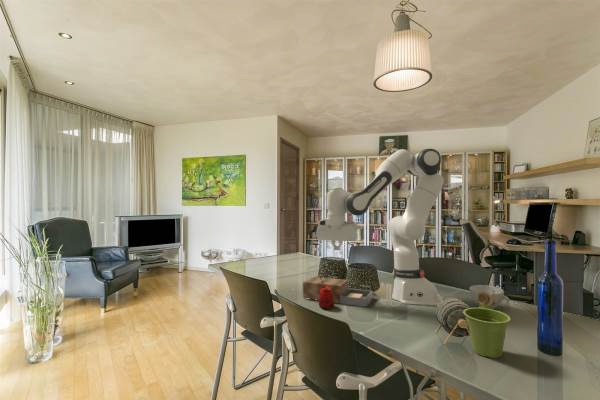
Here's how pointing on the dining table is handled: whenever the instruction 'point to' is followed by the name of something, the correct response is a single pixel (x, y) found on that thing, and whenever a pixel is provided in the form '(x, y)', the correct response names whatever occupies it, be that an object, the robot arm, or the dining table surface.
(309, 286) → the brown rectangular box
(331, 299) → the red clay folk toy
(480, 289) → the teacup
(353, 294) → the tile
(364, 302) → the box
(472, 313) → the plant pot
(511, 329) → the dining table surface
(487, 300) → the snail figurine
